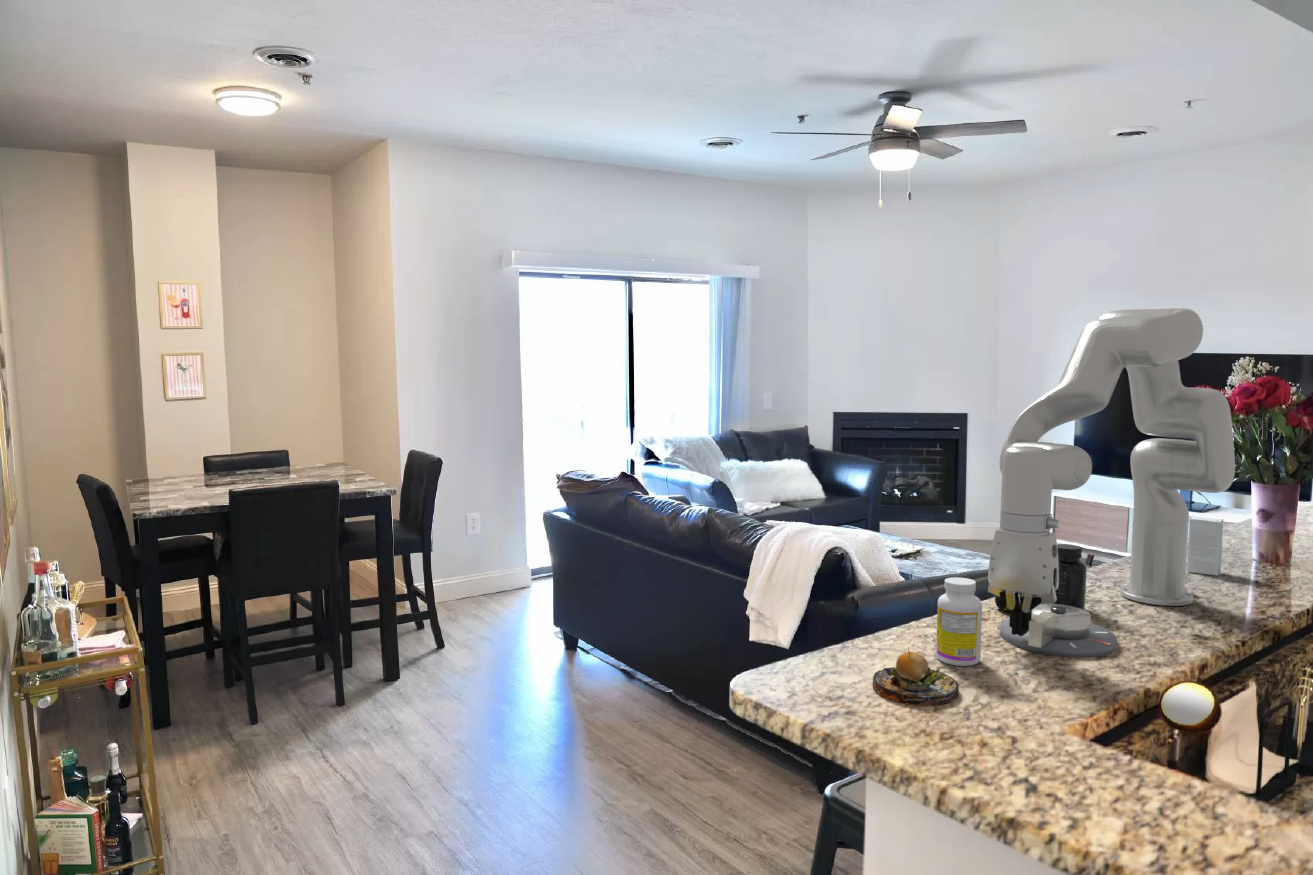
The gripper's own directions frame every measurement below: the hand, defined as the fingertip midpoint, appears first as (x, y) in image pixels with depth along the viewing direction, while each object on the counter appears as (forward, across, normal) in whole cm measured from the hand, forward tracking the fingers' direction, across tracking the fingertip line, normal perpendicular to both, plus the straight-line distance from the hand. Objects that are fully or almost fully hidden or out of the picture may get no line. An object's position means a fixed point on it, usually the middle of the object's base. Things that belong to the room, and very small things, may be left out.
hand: (1019, 633), depth 147 cm
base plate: (+3, -3, -9) cm, 10 cm away
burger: (+3, +5, +28) cm, 29 cm away
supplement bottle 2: (+3, +2, -29) cm, 29 cm away
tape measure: (+3, +8, -22) cm, 24 cm away
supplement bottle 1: (+3, +5, +12) cm, 13 cm away
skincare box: (+2, -12, -79) cm, 80 cm away
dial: (+1, -3, -6) cm, 7 cm away
